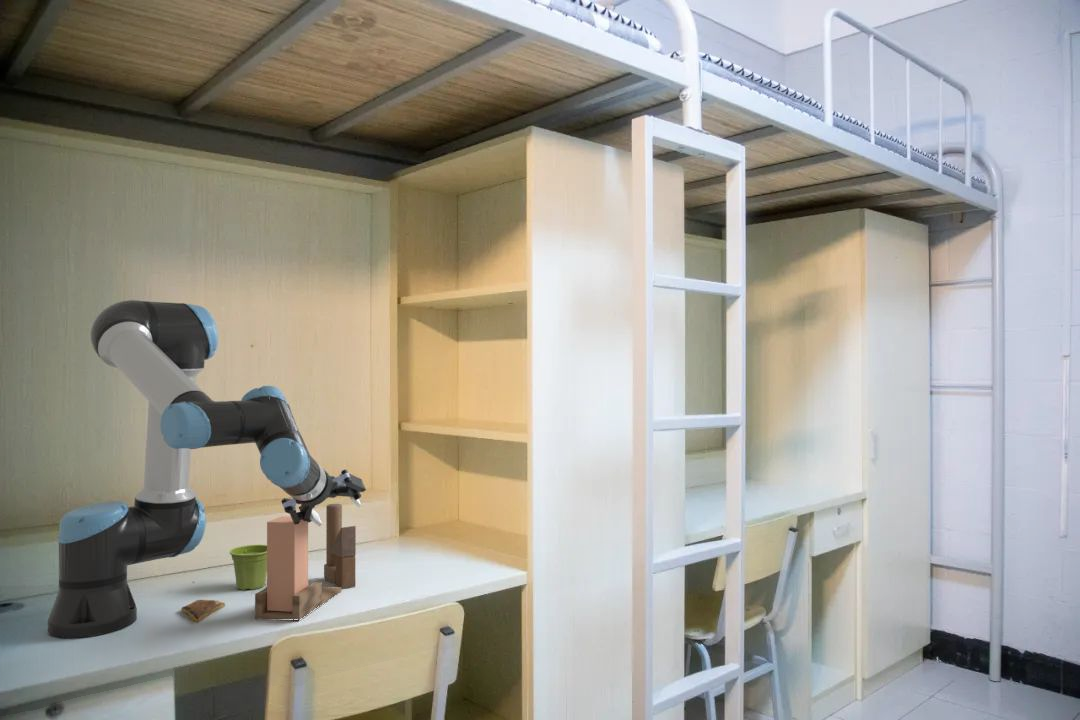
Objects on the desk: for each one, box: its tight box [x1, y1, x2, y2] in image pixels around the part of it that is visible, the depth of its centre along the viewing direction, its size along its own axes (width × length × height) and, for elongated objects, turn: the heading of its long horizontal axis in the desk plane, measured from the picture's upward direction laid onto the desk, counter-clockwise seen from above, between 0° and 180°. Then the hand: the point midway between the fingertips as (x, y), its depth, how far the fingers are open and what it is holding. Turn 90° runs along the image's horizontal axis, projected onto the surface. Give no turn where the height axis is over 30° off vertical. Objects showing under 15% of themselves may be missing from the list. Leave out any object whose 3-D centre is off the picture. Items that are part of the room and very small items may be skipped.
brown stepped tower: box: [323, 503, 357, 590], centre depth 177 cm, size 4×11×18 cm, turn 37°
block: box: [266, 515, 309, 612], centre depth 155 cm, size 6×6×18 cm
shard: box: [181, 599, 226, 624], centre depth 154 cm, size 11×8×2 cm
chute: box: [254, 581, 342, 621], centre depth 160 cm, size 20×10×5 cm, turn 171°
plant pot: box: [229, 544, 267, 591], centre depth 174 cm, size 9×9×9 cm
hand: (338, 510), depth 160 cm, fingers open, 8 cm apart
